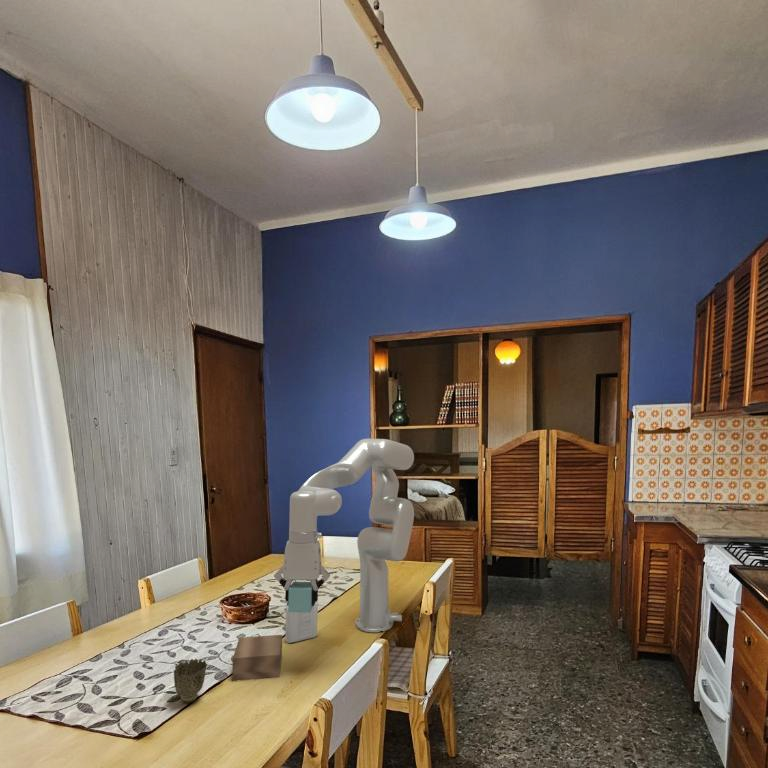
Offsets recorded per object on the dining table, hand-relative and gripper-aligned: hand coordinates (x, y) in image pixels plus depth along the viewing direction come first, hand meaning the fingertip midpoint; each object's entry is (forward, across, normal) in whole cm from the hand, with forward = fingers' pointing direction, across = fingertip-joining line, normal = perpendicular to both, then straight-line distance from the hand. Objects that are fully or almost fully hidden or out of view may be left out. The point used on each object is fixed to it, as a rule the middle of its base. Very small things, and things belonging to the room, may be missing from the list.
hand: (301, 603), depth 130 cm
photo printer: (+18, +4, -19) cm, 26 cm away
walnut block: (+18, +12, -1) cm, 22 cm away
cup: (+18, +24, +14) cm, 33 cm away
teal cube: (+1, 0, 0) cm, 1 cm away
